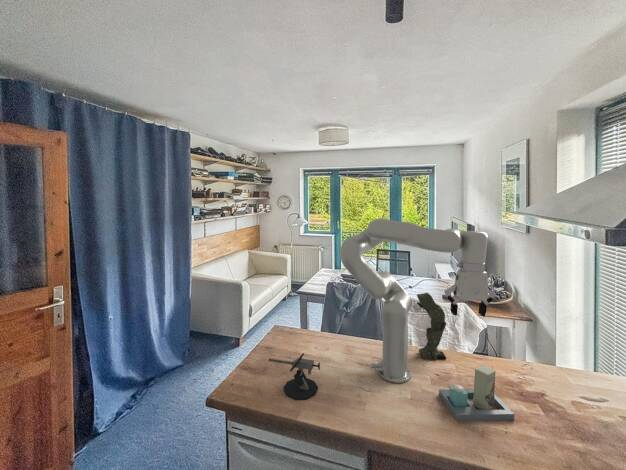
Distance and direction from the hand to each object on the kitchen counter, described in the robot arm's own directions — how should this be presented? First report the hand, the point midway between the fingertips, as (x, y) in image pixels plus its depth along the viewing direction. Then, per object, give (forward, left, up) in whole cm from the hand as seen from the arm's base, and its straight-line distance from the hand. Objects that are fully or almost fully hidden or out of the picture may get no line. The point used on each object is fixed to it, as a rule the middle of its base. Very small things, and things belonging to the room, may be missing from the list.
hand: (467, 314), depth 106 cm
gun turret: (-62, +4, -29) cm, 69 cm away
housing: (-1, -8, -29) cm, 30 cm away
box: (+2, -8, -29) cm, 30 cm away
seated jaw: (-7, -8, -29) cm, 31 cm away
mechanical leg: (-2, +26, -29) cm, 39 cm away
